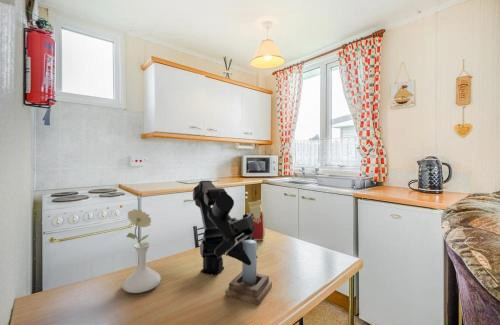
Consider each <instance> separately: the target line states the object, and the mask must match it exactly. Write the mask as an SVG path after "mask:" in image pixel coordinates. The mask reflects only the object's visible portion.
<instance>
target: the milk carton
mask: <svg viewBox="0 0 500 325" xmlns="http://www.w3.org/2000/svg"><path fill="white" fill-rule="evenodd" d="M261 203H262V199H259V200H256V201H251V202H247V204H248V206H249V214H250V215H252V217H254V219H253V222H254V225H253V226H254V227H255V228H256V230H255V231H254V232H253V235H252V236H254V237H255V238H254V240H255V241H257V240H265V237H266V236H265V235H266V230H265V229H266V226H265V217H264V212H263V208H262V204H261ZM251 234H252V233H251ZM264 236H265V237H264Z"/></svg>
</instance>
